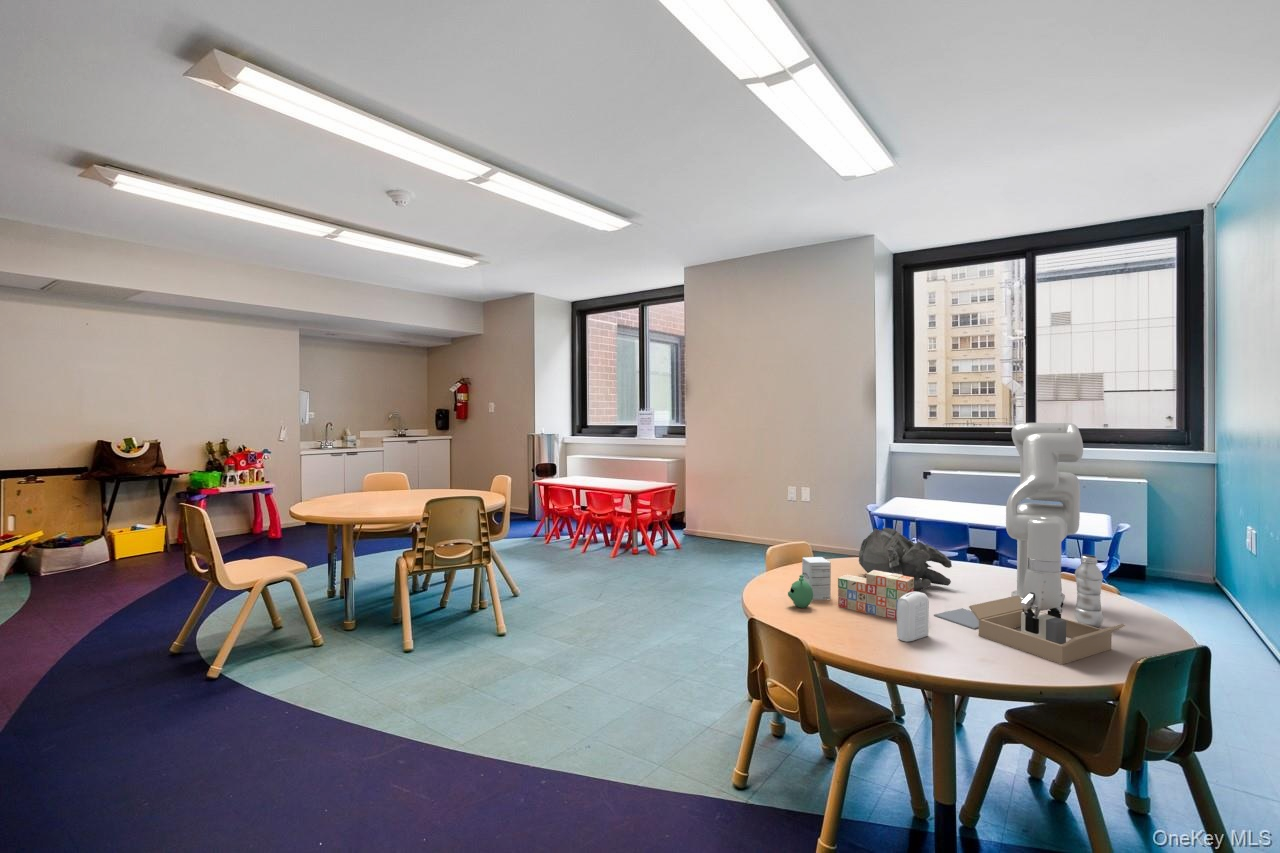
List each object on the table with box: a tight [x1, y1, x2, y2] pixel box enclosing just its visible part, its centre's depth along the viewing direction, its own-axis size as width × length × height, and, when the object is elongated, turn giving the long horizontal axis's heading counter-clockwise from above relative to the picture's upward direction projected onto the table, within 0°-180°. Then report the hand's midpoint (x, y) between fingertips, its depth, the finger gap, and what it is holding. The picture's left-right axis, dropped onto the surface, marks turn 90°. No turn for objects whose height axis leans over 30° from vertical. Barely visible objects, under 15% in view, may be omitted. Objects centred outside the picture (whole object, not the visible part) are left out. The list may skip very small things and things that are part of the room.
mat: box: [933, 608, 979, 630], centre depth 181 cm, size 13×13×1 cm
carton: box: [968, 595, 1126, 665], centre depth 162 cm, size 22×28×8 cm
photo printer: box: [896, 591, 930, 643], centre depth 166 cm, size 10×4×12 cm, turn 123°
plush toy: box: [858, 527, 953, 592], centre depth 220 cm, size 27×26×20 cm
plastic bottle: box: [1074, 554, 1104, 628], centre depth 175 cm, size 6×7×20 cm
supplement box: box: [801, 556, 832, 601], centre depth 203 cm, size 7×7×13 cm
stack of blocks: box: [837, 570, 915, 621], centre depth 188 cm, size 21×6×12 cm, turn 47°
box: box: [1020, 611, 1067, 645], centre depth 162 cm, size 4×9×7 cm, turn 26°
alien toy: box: [787, 574, 813, 609], centre depth 192 cm, size 7×8×10 cm
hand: (1043, 629), depth 162 cm, fingers open, 9 cm apart
